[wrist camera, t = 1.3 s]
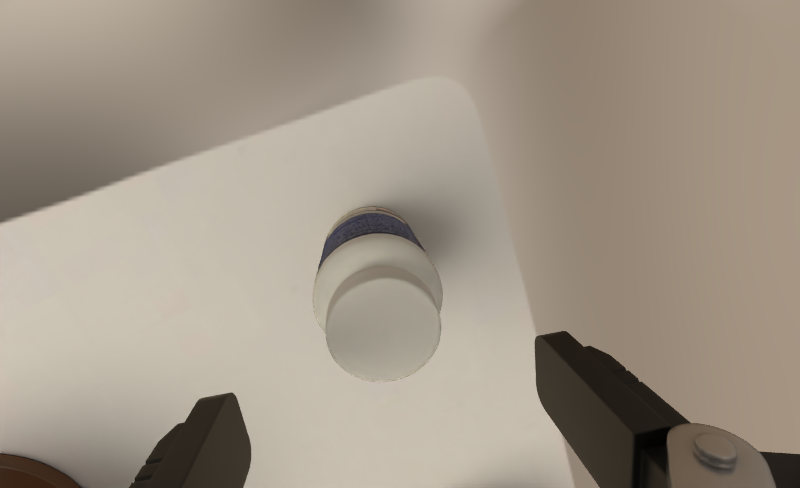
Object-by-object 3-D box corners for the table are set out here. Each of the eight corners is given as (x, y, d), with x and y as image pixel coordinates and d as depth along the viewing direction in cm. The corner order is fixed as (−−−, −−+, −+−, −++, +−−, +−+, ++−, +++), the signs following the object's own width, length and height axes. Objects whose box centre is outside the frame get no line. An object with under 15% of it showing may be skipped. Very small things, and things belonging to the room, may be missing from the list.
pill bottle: (305, 239, 21) (268, 318, 12) (383, 187, 21) (407, 226, 12) (359, 309, 23) (364, 426, 14) (432, 261, 23) (488, 347, 13)
